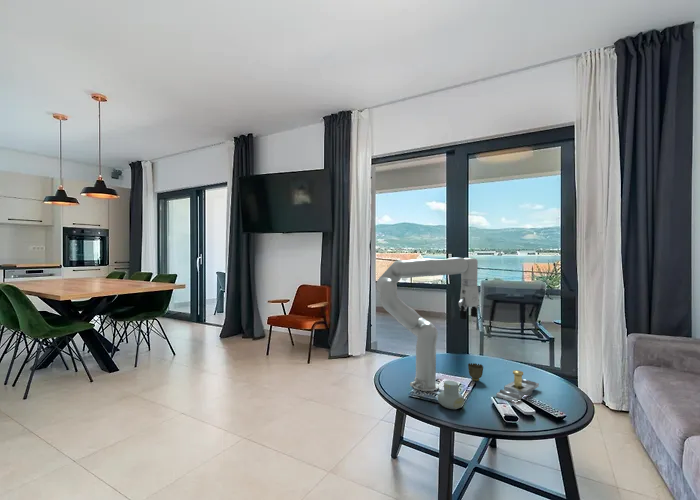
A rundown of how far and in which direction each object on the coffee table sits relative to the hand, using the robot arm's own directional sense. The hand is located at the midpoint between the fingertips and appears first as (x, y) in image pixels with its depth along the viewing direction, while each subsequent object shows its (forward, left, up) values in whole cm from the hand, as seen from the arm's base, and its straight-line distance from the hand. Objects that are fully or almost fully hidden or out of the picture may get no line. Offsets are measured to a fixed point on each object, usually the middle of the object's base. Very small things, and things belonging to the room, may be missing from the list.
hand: (468, 317), depth 172 cm
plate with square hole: (+10, -20, -33) cm, 40 cm away
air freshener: (-27, -8, -34) cm, 44 cm away
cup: (+9, +1, -34) cm, 35 cm away
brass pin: (+10, -20, -33) cm, 40 cm away
